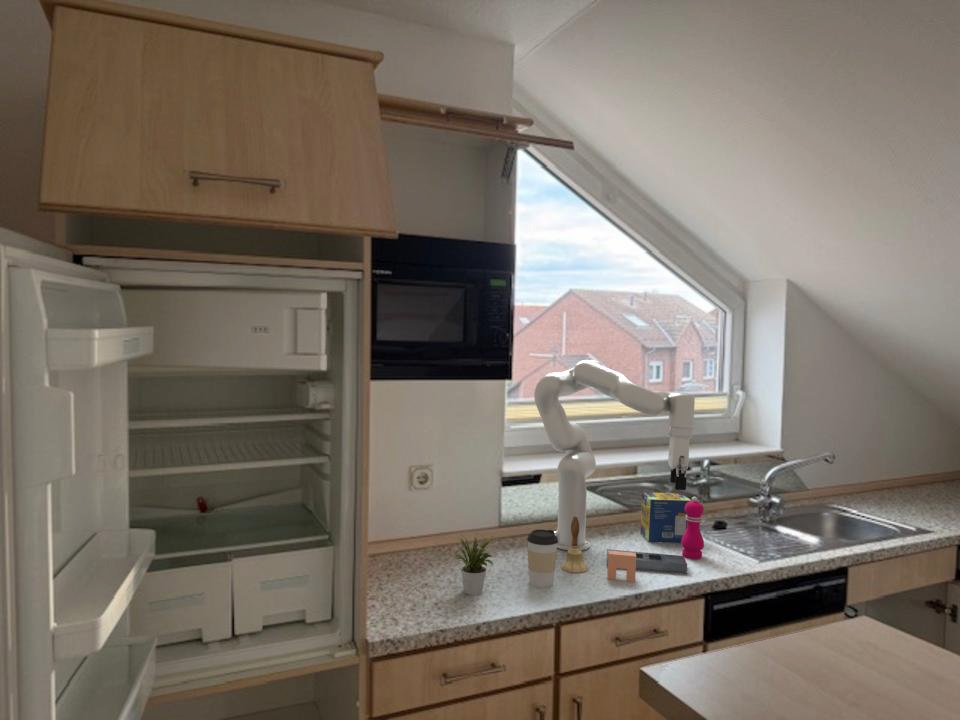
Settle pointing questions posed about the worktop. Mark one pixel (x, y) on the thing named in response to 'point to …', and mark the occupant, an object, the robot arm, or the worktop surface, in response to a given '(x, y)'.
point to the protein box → (663, 517)
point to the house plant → (474, 566)
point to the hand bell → (574, 552)
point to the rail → (658, 562)
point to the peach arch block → (621, 564)
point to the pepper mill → (693, 530)
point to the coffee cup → (542, 557)
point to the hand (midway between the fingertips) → (677, 486)
